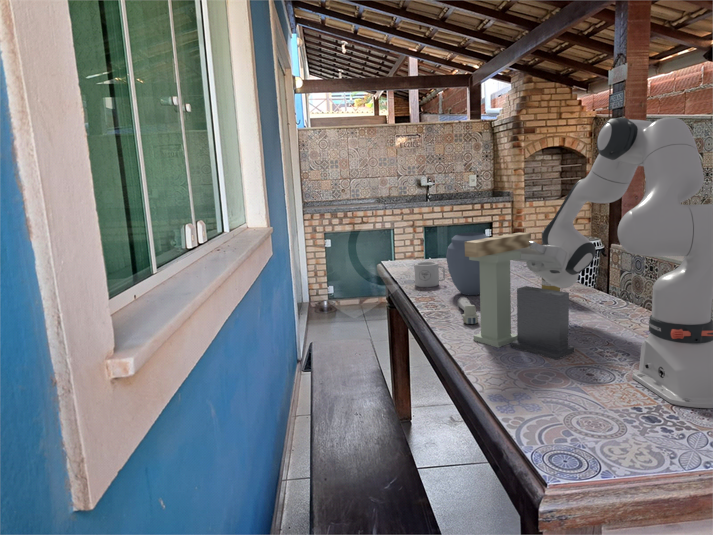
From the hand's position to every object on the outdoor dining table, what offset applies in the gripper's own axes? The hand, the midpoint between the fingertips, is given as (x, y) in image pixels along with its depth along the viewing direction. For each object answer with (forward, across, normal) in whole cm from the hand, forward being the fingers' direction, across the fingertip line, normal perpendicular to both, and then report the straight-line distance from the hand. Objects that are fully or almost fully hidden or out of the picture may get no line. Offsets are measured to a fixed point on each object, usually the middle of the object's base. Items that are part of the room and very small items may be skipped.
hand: (517, 242), depth 151 cm
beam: (+6, 0, +5) cm, 8 cm away
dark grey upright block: (-7, +14, +28) cm, 32 cm away
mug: (-42, -71, +7) cm, 83 cm away
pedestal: (-5, 0, +29) cm, 29 cm away
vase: (-40, -46, +8) cm, 62 cm away
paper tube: (-56, -21, -1) cm, 60 cm away
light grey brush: (-18, -25, +22) cm, 38 cm away
